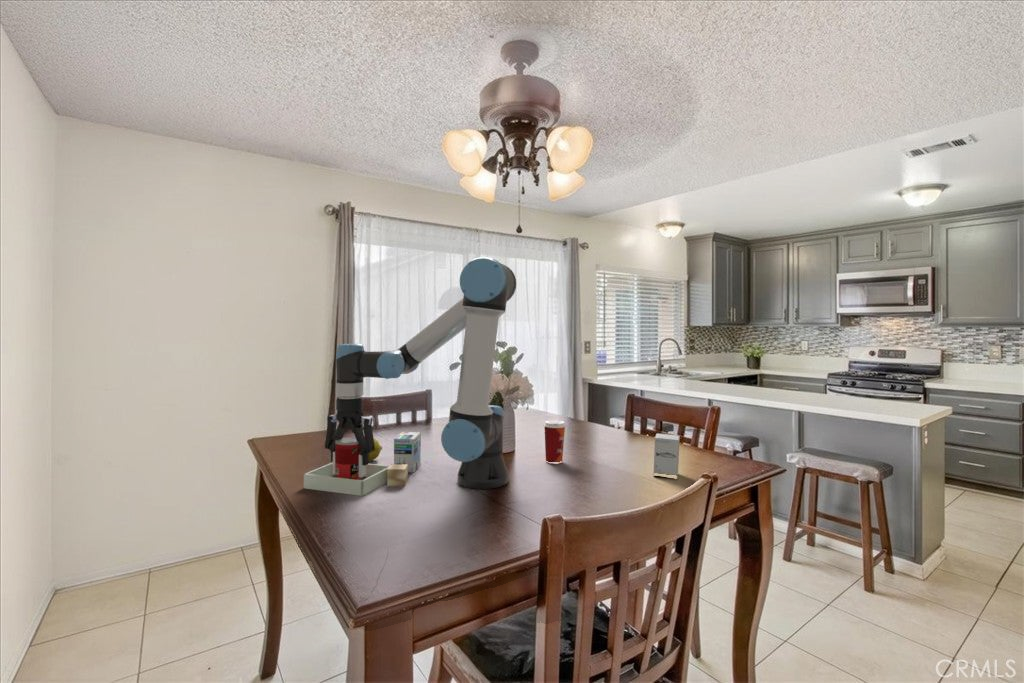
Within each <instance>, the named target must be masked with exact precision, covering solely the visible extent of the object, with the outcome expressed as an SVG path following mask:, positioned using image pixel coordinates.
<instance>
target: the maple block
mask: <svg viewBox="0 0 1024 683" xmlns="http://www.w3.org/2000/svg"><path fill="white" fill-rule="evenodd" d="M388 466H389V468H388V469H387V483H386V484H387V487H406V484H407V483H408V481H409V480H408V479H409V478H408V477H409V474H408V473H409V472H408V464H394V463H392V464H391V463H390V465H388Z"/></svg>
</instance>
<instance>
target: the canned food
mask: <svg viewBox="0 0 1024 683" xmlns="http://www.w3.org/2000/svg"><path fill="white" fill-rule="evenodd" d="M359 454H361V451H360V448H359V443H358V442H357V440H356V437H355V436H345V437H344V436H343V438H342V439H339V440H336V442H335V475H334V477H337V478H346V479H354V480H361V479H362V478H363V477H361V478H360V477H359Z"/></svg>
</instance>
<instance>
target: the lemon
mask: <svg viewBox="0 0 1024 683" xmlns="http://www.w3.org/2000/svg"><path fill="white" fill-rule="evenodd" d="M374 445H375V451H373V452H370V453H369V462H371V461H374V460H376V459H378V457H379V455H380V453H381V451H382V450H383V446H382V445H381V444H380V442H379V441H378V440H377V439H376V438H374Z"/></svg>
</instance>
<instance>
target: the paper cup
mask: <svg viewBox="0 0 1024 683" xmlns="http://www.w3.org/2000/svg"><path fill="white" fill-rule="evenodd" d="M543 427H544V446H545V447H544V449H545V462H546V461H548V462H560V461H562V462H563V458H564V457H563V456H564V455H563V454H564V444H565V432H566V423H565V421H563V420H557V419H554V420H553V419H550V420H545V421H544V424H543Z"/></svg>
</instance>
